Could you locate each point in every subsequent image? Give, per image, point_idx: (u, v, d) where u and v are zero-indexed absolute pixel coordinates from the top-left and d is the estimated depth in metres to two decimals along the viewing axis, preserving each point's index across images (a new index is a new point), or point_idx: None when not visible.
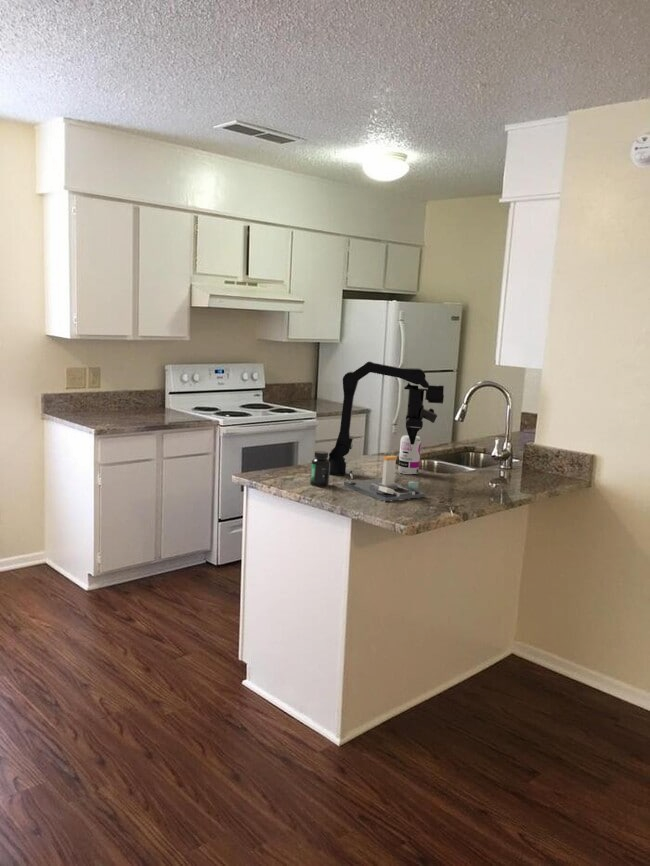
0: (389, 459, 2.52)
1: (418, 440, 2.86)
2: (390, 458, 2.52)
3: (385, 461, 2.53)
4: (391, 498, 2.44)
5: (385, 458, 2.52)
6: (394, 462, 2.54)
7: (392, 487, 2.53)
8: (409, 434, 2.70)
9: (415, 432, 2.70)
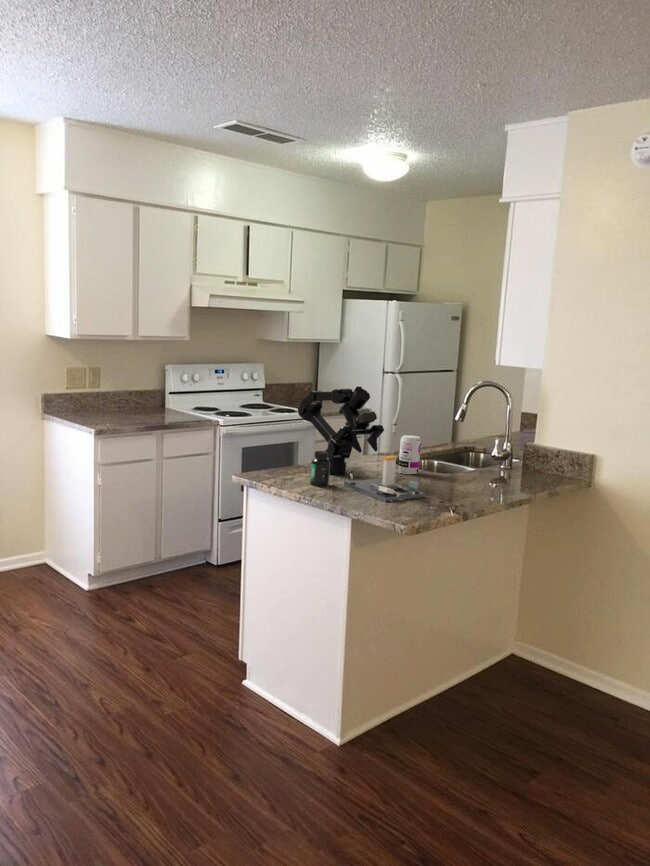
0: (389, 459, 2.52)
1: (418, 440, 2.86)
2: (390, 458, 2.52)
3: (385, 461, 2.53)
4: (391, 498, 2.44)
5: (385, 458, 2.52)
6: (394, 462, 2.54)
7: (392, 487, 2.53)
8: (352, 445, 2.64)
9: (353, 440, 2.63)
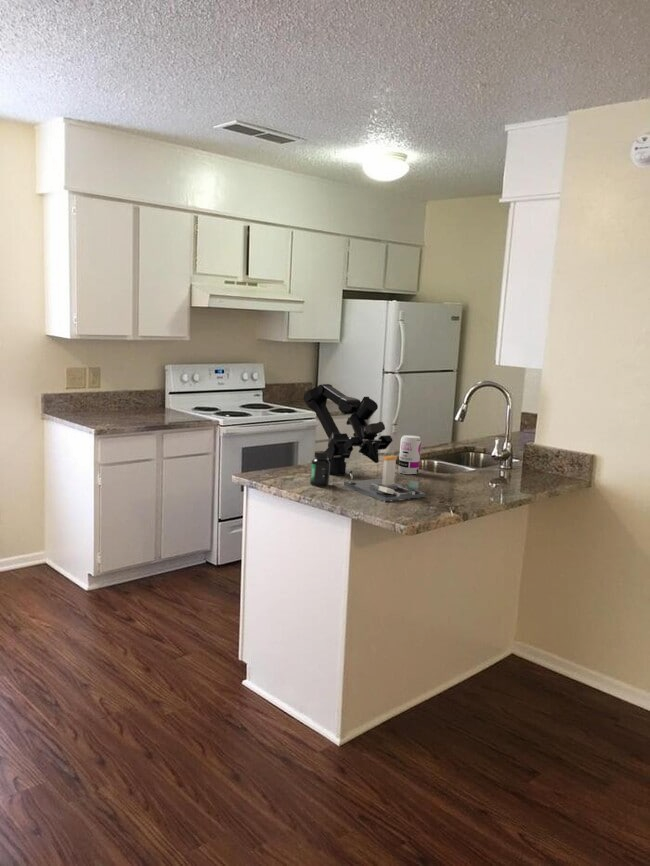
0: (389, 459, 2.52)
1: (418, 440, 2.86)
2: (390, 458, 2.52)
3: (385, 461, 2.53)
4: (391, 498, 2.44)
5: (385, 458, 2.52)
6: (394, 462, 2.54)
7: (392, 487, 2.53)
8: (367, 455, 2.62)
9: (369, 450, 2.61)
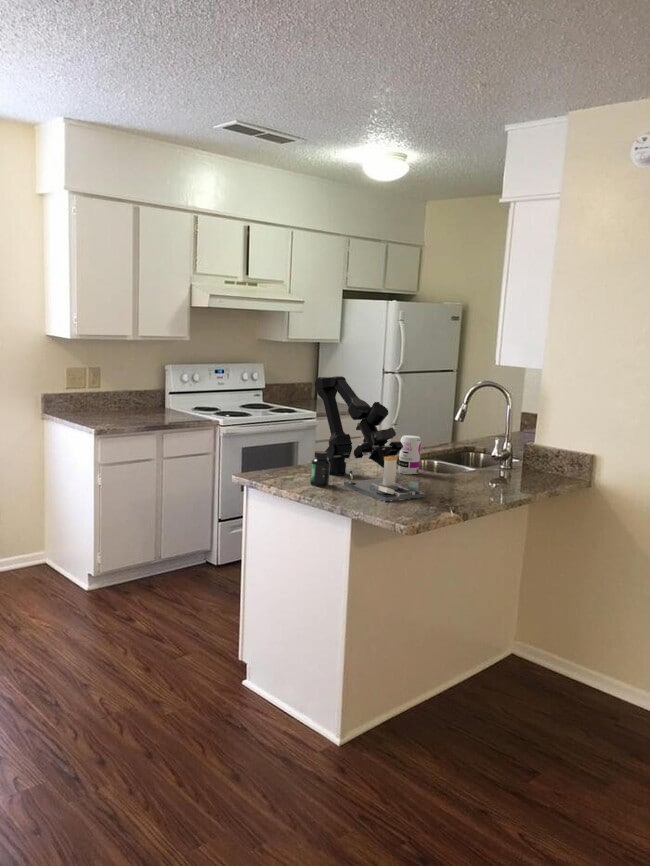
0: (390, 459, 2.52)
1: (418, 440, 2.86)
2: (391, 458, 2.52)
3: (386, 461, 2.52)
4: (391, 498, 2.44)
5: (386, 458, 2.52)
6: (395, 462, 2.54)
7: (393, 487, 2.53)
8: (378, 462, 2.57)
9: (379, 457, 2.56)
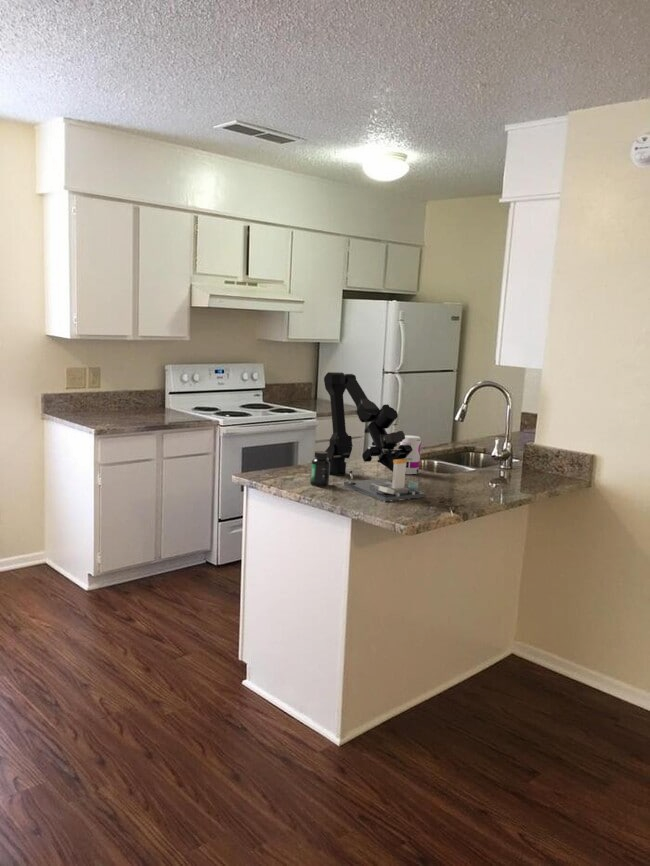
0: (399, 462, 2.48)
1: (418, 440, 2.86)
2: (400, 461, 2.48)
3: (395, 464, 2.48)
4: (391, 498, 2.44)
5: (395, 461, 2.48)
6: (404, 465, 2.49)
7: (402, 491, 2.49)
8: (387, 466, 2.53)
9: (388, 460, 2.52)
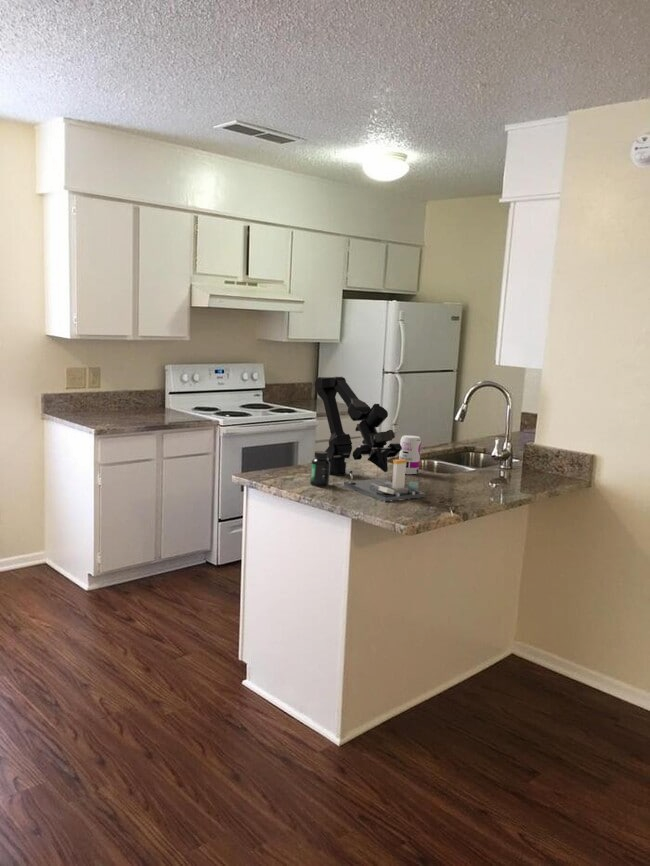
0: (399, 462, 2.48)
1: (418, 440, 2.86)
2: (400, 461, 2.48)
3: (395, 464, 2.48)
4: (391, 498, 2.44)
5: (395, 461, 2.48)
6: (404, 465, 2.49)
7: (402, 491, 2.49)
8: (376, 464, 2.58)
9: (378, 458, 2.56)
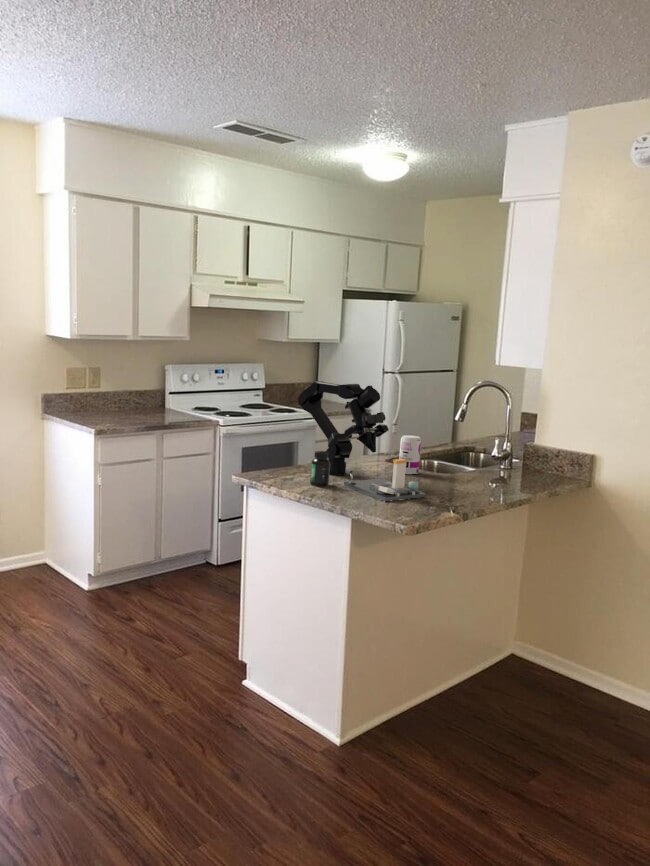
0: (399, 462, 2.48)
1: (418, 440, 2.86)
2: (400, 461, 2.48)
3: (395, 464, 2.48)
4: (391, 498, 2.44)
5: (395, 461, 2.48)
6: (404, 465, 2.49)
7: (402, 491, 2.49)
8: (365, 444, 2.66)
9: (368, 439, 2.65)
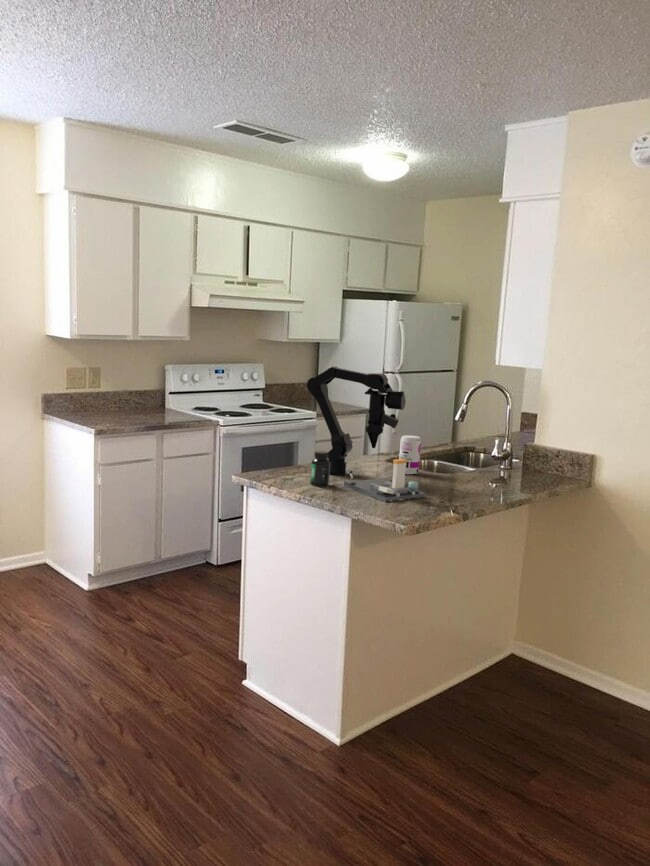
0: (399, 462, 2.48)
1: (418, 440, 2.86)
2: (400, 461, 2.48)
3: (395, 464, 2.48)
4: (391, 498, 2.44)
5: (395, 461, 2.48)
6: (404, 465, 2.49)
7: (402, 491, 2.49)
8: (370, 438, 2.73)
9: (376, 436, 2.72)
